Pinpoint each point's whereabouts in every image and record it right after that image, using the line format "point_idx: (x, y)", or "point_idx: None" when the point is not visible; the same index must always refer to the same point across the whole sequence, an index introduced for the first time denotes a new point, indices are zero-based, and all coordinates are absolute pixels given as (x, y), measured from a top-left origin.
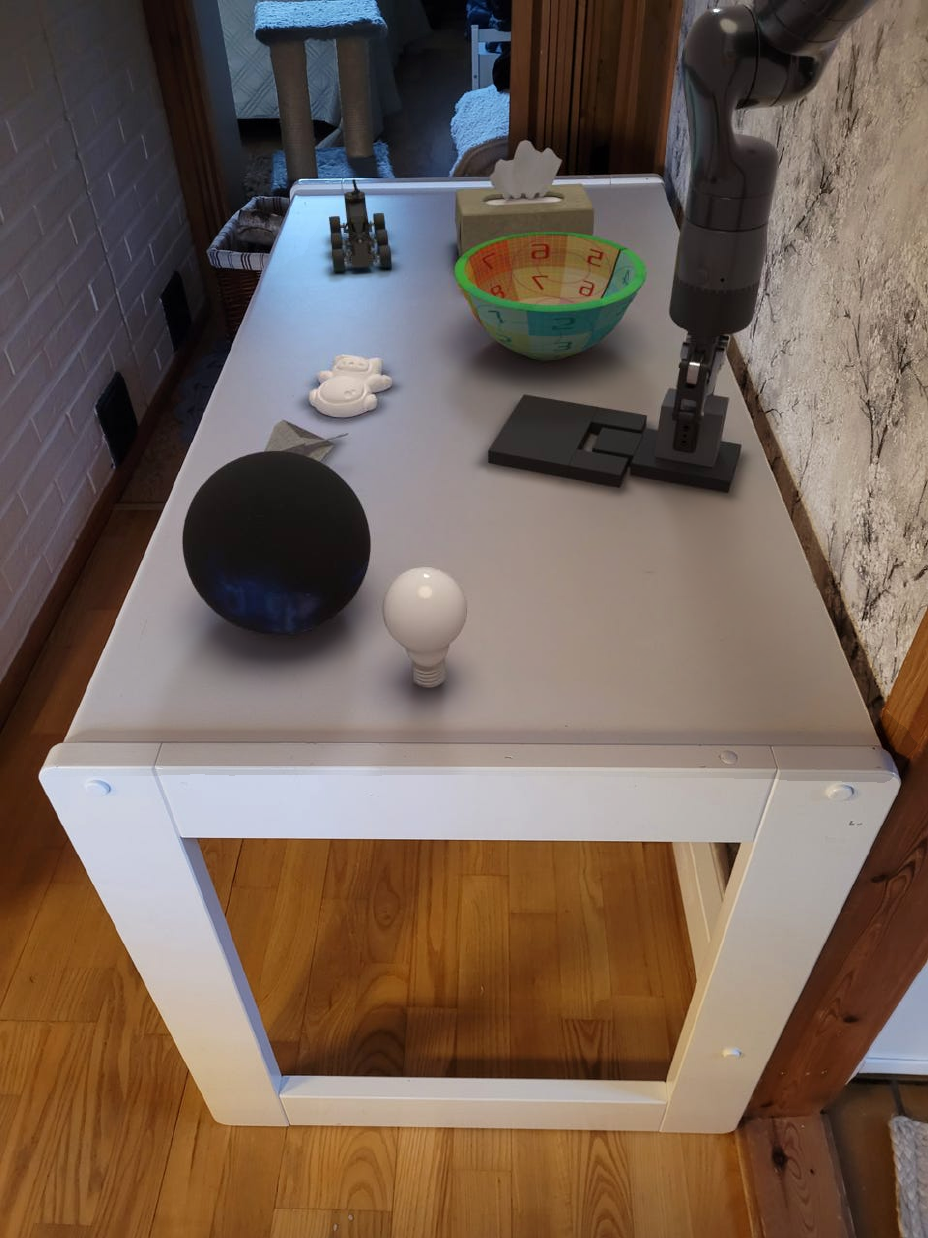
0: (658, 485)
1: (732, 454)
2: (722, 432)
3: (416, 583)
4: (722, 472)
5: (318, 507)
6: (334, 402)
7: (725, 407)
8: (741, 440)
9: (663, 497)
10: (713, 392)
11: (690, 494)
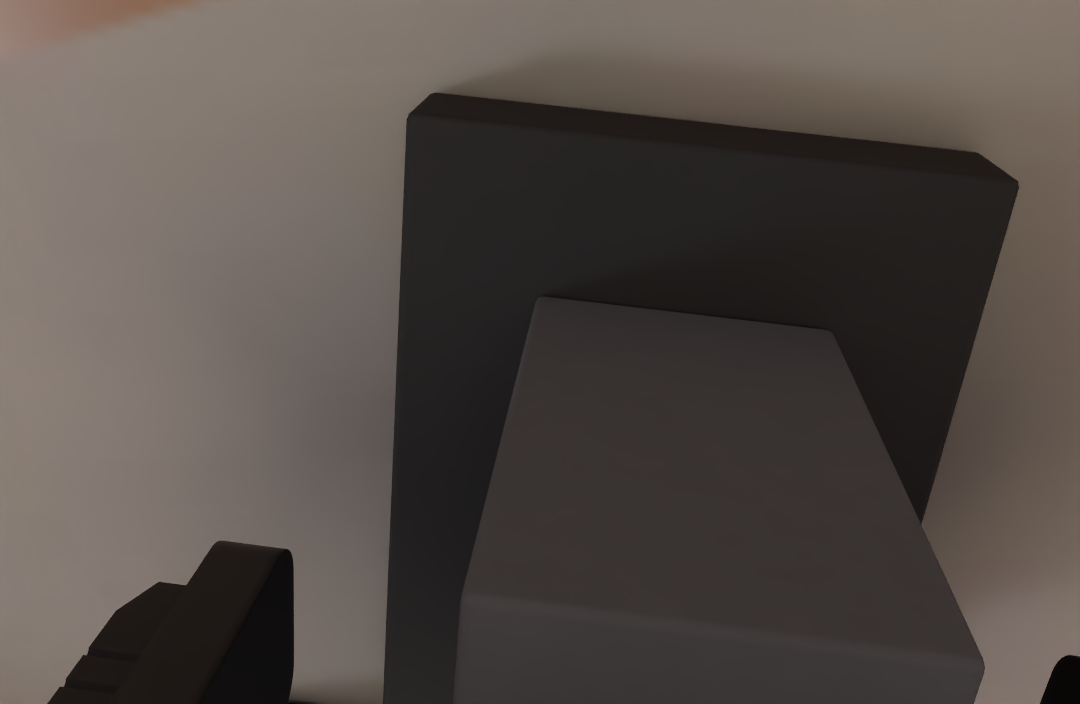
0: None
1: (592, 185)
2: (567, 376)
3: None
4: (890, 256)
5: None
6: None
7: (765, 642)
8: (189, 83)
9: (1054, 568)
10: (206, 658)
11: (1007, 412)
